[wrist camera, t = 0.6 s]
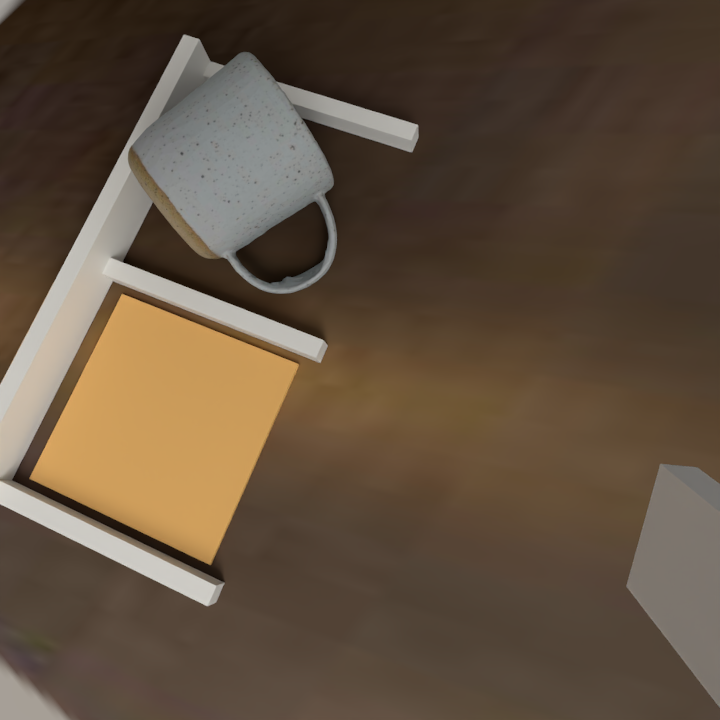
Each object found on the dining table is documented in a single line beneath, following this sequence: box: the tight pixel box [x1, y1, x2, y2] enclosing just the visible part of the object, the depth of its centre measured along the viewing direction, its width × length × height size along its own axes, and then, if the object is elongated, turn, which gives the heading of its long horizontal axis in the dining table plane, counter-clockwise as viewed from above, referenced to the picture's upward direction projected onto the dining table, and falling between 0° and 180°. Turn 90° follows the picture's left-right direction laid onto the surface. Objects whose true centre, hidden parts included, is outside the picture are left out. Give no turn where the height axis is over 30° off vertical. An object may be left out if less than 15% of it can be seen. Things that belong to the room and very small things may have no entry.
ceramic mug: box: [128, 52, 337, 294], centre depth 31 cm, size 11×8×8 cm
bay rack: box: [0, 35, 419, 606], centre depth 33 cm, size 27×14×3 cm, turn 157°
